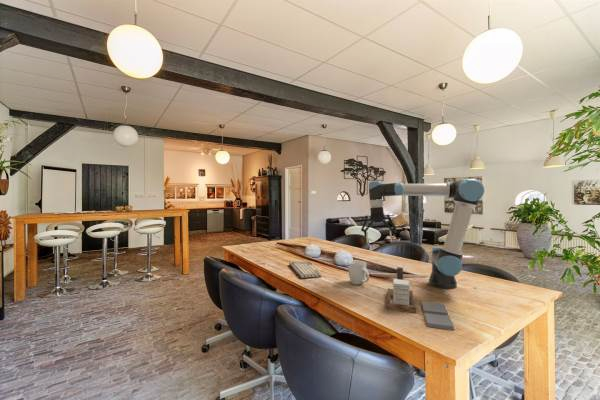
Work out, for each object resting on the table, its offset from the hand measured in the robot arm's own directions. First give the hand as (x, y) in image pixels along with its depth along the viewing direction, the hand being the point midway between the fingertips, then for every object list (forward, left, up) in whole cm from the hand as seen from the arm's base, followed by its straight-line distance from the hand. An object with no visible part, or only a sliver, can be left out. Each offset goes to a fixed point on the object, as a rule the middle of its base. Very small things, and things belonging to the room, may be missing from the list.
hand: (379, 242), depth 163 cm
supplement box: (-12, +27, -27) cm, 40 cm away
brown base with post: (-11, +18, -27) cm, 34 cm away
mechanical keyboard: (+53, -19, -28) cm, 62 cm away
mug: (+13, -2, -27) cm, 30 cm away
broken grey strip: (-26, +32, -27) cm, 49 cm away
